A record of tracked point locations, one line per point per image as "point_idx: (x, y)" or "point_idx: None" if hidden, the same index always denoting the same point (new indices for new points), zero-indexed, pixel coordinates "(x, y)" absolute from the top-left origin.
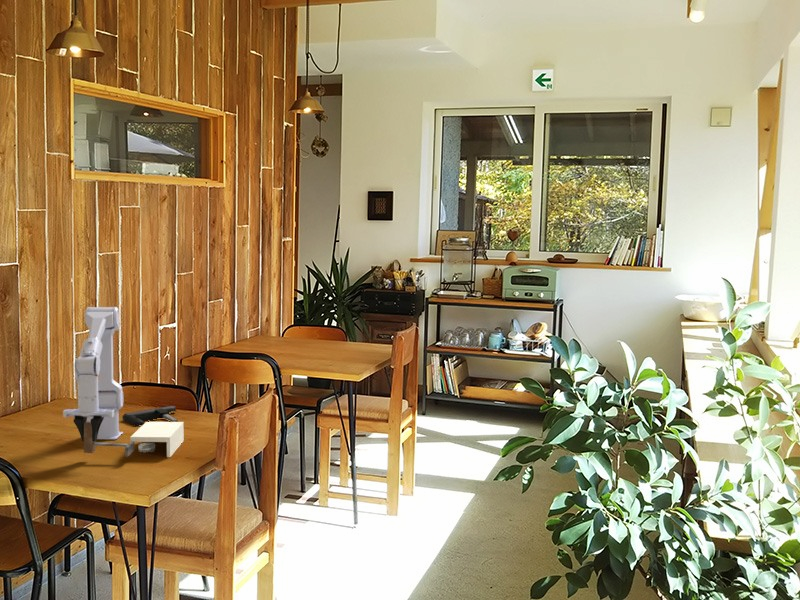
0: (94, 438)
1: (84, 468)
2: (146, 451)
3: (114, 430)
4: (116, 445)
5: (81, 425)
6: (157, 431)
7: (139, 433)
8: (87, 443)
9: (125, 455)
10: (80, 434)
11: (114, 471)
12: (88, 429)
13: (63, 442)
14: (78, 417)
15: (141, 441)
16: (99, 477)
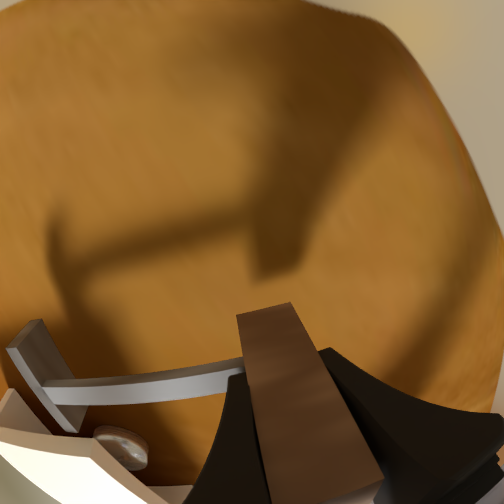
0: (227, 390)
1: (206, 172)
2: (100, 429)
3: None
4: (91, 382)
5: (400, 443)
6: (72, 491)
7: (102, 485)
8: (280, 345)
9: (37, 321)
10: (365, 373)
11: (34, 180)
12: (305, 444)
13: None
14: (469, 492)
15: (54, 436)
16: (57, 75)
